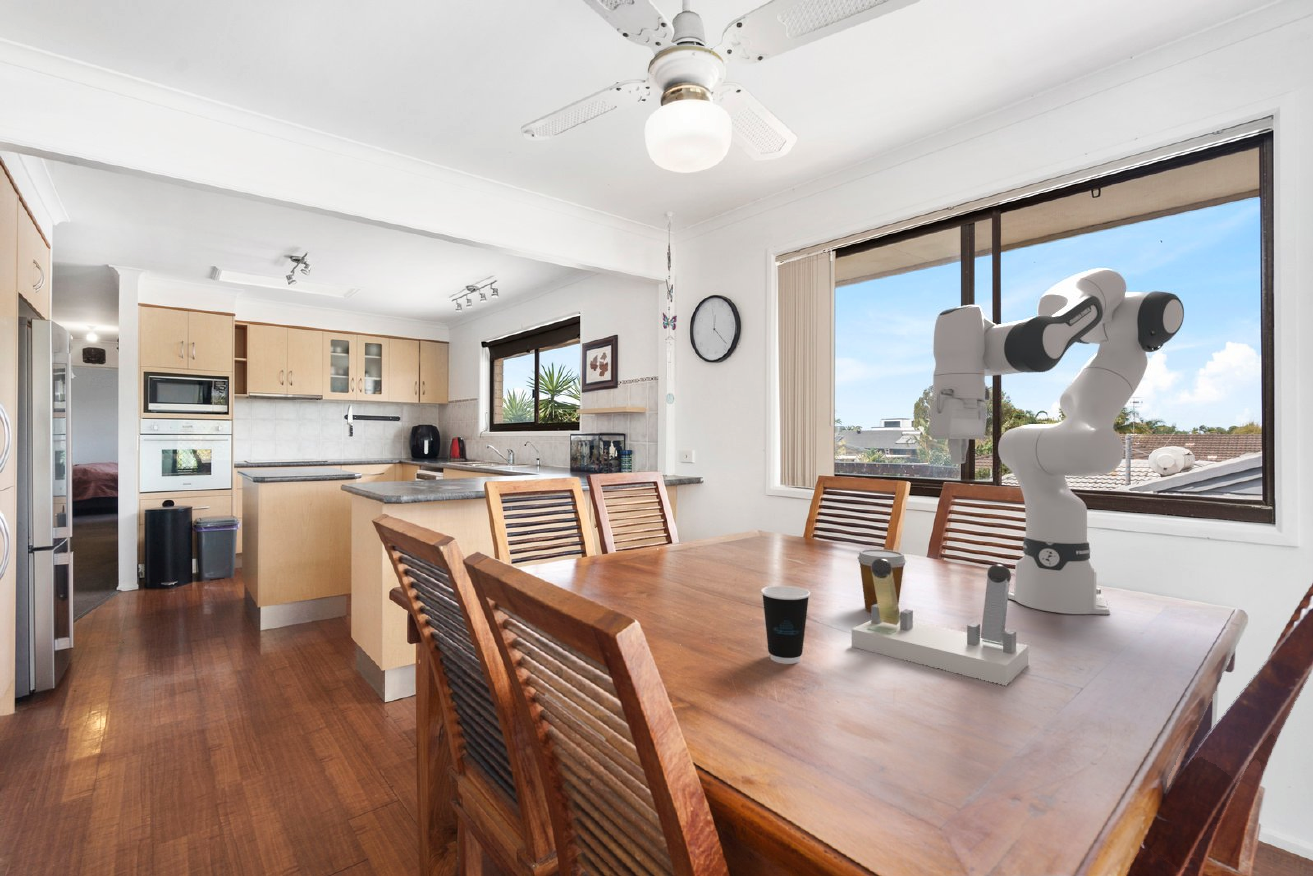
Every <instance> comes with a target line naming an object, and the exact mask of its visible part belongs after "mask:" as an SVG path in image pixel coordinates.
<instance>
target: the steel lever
mask: <svg viewBox="0 0 1313 876" xmlns="http://www.w3.org/2000/svg"><path fill="white" fill-rule="evenodd" d="M986 575H987V580H986V586H985V587H986V588H985V596H984V597H985V598H984V605H983V606H984V607H983V613H982V614H983V615H982V622H981V630H980V636H981V638H982V639H984V640H989V641H994V642H999V643H1003V632H1005V631H1006V630H1005V629H1006V622H1007V611H1008V601H1009V598H1008V594H1009V592H1010V584H1011V579H1012V573H1011V570H1010V569H1009V567H1008V566H1005V565H1003V564H999V563H997V564H992V565H991V566H990V567H988V569H987V572H986Z"/></svg>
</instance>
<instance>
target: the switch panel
mask: <svg viewBox="0 0 1313 876" xmlns="http://www.w3.org/2000/svg"><path fill="white" fill-rule="evenodd" d="M899 612H900V621H899V623H898V624H897V625H894V624H889V623H885V622H881V619H880V614H879V608H878V604H875V605H873V606H871V612H870V615H871V616H870V620H869V621H866V622H864V623H862V624H860V625H857V626H855V627H853V628H852V629H851V647H852V648H855V649H859V650H865V651H867V652H872V653H875V654H878V655H883V656H887V657H891V658H896V659H899V660H902V659H904V660H903V661H906V660H908V662H910V661H911V662H910V663H914V662H915V664H919V665H922V664H925V665H924V666H926V665H928V666H927V667H931V668H933V667H934V668H933V669H937V668H940V669H939V670H941V669H943V670H942V671H945V670H946V672H949V673H955V674H957V673H959V674H958V675H961V674H962V675H961V676H964V677H965V676H966V677H968V678H972V679H973V678H974V679H976V678H979V679H978V680H980V679H981V680H980V681H984V680H985V681H984V682H988V681H989V682H988V683H992V682H994V683H993V684H996V683H998V684H997V685H1000V684H1002V685H1001V686H1004V685H1005V687H1007V686H1008V685H1009V684H1010V683H1011V682H1012V681H1013V680H1014V679H1016V678H1017V676H1019V674H1020V673H1021V672H1023V670H1024V669H1025V668H1026V667H1027V666H1028V665H1029V645H1027V644H1022V643H1018V642H1017V630H1013V629H1006V630H1005V632H1003V643H999V642H994V641H989V640H984V639H982V638H981V624H980V623H978V622H977V623H976V622H971V623H969V624H967V626H966V632H965V631H960V630H957V629H953V628H952V629H950V628H947V627H946V628H945V627H941V626H938V625H933V624H927V623H924V622H923V623H922V622H918V621H914V618H913V617H914V610H912V609H909V608H908V609H903V610H901V611H899ZM1009 682H1010V683H1009ZM1008 683H1009V684H1008ZM1007 684H1008V685H1007Z"/></svg>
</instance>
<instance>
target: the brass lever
mask: <svg viewBox="0 0 1313 876" xmlns="http://www.w3.org/2000/svg"><path fill="white" fill-rule="evenodd" d="M871 571H872V576H873V581H874V587H875V592H876V597H877V603H878V608H879V614H880V619H881V622H885V623H889V624H894V625H897V624H898V623H899V621H900V612H901V611H900V607H899V604H898V601H897V595H896V589H895V584H894V578H893V572H892V566H891V564H890V562H889V561H888V560H886V559H883V558H878V559H876V560H874V561H873V562H872V564H871Z"/></svg>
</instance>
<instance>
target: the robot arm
mask: <svg viewBox="0 0 1313 876" xmlns="http://www.w3.org/2000/svg"><path fill="white" fill-rule="evenodd" d="M1184 318H1185V310H1184V305H1183V302H1182V301H1181V299H1180V298H1179V297H1178V295H1176V294H1175V293H1172V292H1166V291H1157V290H1155V291H1150V292H1141V291H1140V292H1139V291H1137V292H1136V291H1133V292H1127V284H1126V280H1125V278H1123V276H1122V274H1121V273H1119V272H1117V271H1115V270H1113V269H1110V268H1103V267H1102V268H1095V269H1090V270H1088V271H1084V272H1081V273H1077V274H1075V275H1073V276H1071V277H1069V278H1067V279H1064V280H1062V281H1061V282H1059V283H1057V284H1055V285H1054V286H1052V287H1051V288H1050V289H1048V290H1047V291H1046V292H1045V293H1044V294H1043V295H1042V296H1041V297H1040V298H1039V301H1038V304H1037V316H1033V317H1030V318H1026V319H1023V320H1018V321H1012V322H1008V323H1007V322H1006V323H1001V324H997V323H994V322H992V321H990V320H989V319H988V318H986V316H985V315H984V314H983V311H982V308H981V306H980V305H977V304H968V305H962V306H958V307H953V308H949V309H945V310H943V311H941V312H940V313H939V314H938V315H937V318H936V321H935V325H934V330H933V353H932V354H933V357H934V361H935V368H934V371H933V381H932V382H933V383H932V384H933V385H932V386H933V388H932V390H933V392H932V393H933V394H932V402H931V405H930V413H929V427H928V428H929V431H928V432H929V436H930V438H931V439H933V440H947V447H948V451H949V455H950V463H951V464H957V465H959V464H965V463H966V461H967V459H966V456H967V452H968V448H969V445H970V444H969V440H982V439H984V437H985V434H986V429H987V421H988V420H987V417H988V415H987V414H988V406H987V402H990V400H991V392H990V390H989V389H988V387H987V385H986V382H985V381H986V380H985V379H986V378H985V377H988V376H989V377H990V376H991V377H992V376H1002V375H1003V376H1004V375H1013V374H1021V373H1022V374H1023V373H1045V372H1049V371H1050V370H1052V369H1053V368H1055V367H1056V366H1057V365H1058V363H1059V362H1060V361H1061V360H1062V358H1063V356H1064V355H1065V354H1066V352H1067V351H1068V350H1069V349H1070V347H1072V346H1073V345H1074V344H1075V343H1079V344H1084V345H1089V344H1096V345H1097V344H1098V345H1099V346H1098V349H1097V352H1096V354H1094V355H1093V356H1092V357H1091V358H1090V359H1089V360H1088V361H1087V362H1086V363H1085V365H1083V367H1082V368H1081V369H1080V370H1079V371H1078V373H1077V374H1076V376H1074V378H1073V380H1072V381H1071V382H1070V383H1069V385H1068V386H1067V388H1066V389H1065V390H1064V391H1063V393H1062V394H1061V395H1060V397H1059V406H1060V410H1061V412H1062V414H1063V415H1064V416H1065V417H1064V418H1063V419H1062V420H1061V421H1060V422H1057V423H1045V424H1044V423H1043V424H1042V423H1040V424H1025V425H1020V426H1017V427H1013V428H1010V429H1008V430H1006V431H1005V432H1004V433H1003V434H1002V435H1001V437H1000V439H999V440H998V447H997V453H998V457H999V458H1000V461H1001V462H1002V464H1003V465H1004V466H1005V467H1007V469H1008V470H1010V471H1011V473H1012V474H1013V476H1014V477H1015V480H1016V481H1017V483H1018V485H1019V487H1020V491H1021V493H1022V496H1023V502H1024V508H1025V509H1024V510H1025V511H1024V512H1025V513H1024V514H1025V537H1023V541H1022V548H1023V549H1022V550H1023V551H1022V552H1023V553H1022V554H1024V555H1023V557H1022V558H1020V559H1019V560H1017V561H1016V562H1015V569H1014V570H1015V571H1014V588H1013V590H1012V591H1009V594H1008V600H1013V601H1016V602H1017V603H1019V604H1020V605H1023V606H1025V607H1028V608H1031V609H1035V610H1041V611H1046V612H1052V613H1059V614H1070V615H1093V614H1094V615H1110V608H1109V603H1108V601H1107V597H1106V595H1104V594H1101V593H1102V592H1101V591H1102V590H1101V588H1099V587H1097V571H1095V569H1094V568H1093V566H1092V565H1091V563H1090V560H1089V559H1091V548H1090V543H1089V542H1088V508H1087V505H1086V503H1085V502H1084V501H1083V499H1081V498H1080V497H1078V495H1076V494H1075V493H1074V492H1073V491H1072V490H1071V489H1070V487H1069V485H1068V483H1067V480H1066V476H1067V477H1077V478H1078V477H1081V478H1082V477H1083V478H1087V477H1096V476H1102V475H1108V474H1110V473H1113V472H1114V471H1115V470H1117V469H1118V467H1119V466H1120V465H1121V464H1122V461H1123V458H1124V454H1125V449H1124V442H1123V440H1122V438H1121V436H1120V435H1119V434H1118V433H1117V431H1116V430H1114V424H1115V422H1116V420H1117V419H1118V417H1119V415H1120V413H1121V412H1122V411H1123V409H1124V407H1125V406H1126V405H1127V403H1128V402H1129V400H1130V399H1131V398H1132V396H1133V395H1134V393H1135V392H1136V390H1137V388H1138V387H1139V385H1140V383H1141V381H1142V380H1143V377H1144V375H1145V374H1146V370H1147V367H1148V356H1147V353H1154V352H1156V351H1159V350H1160V349H1161V348H1162V347H1163V346H1164V344H1166V343H1168V342H1169V341H1170V340H1171V339H1172V338H1174V336H1175V335H1176V334H1177V333H1178V332H1179V330H1180V329H1181V328H1182V325H1183V321H1184Z"/></svg>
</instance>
